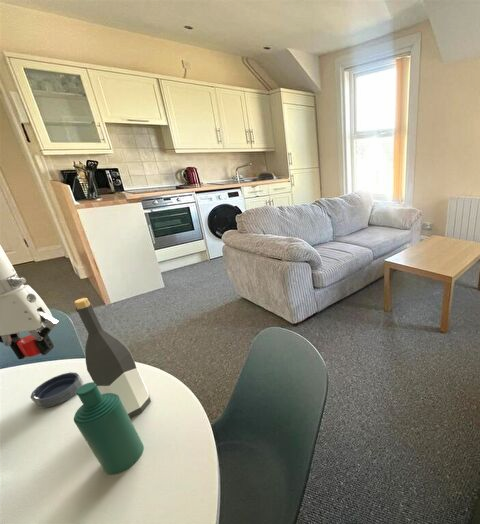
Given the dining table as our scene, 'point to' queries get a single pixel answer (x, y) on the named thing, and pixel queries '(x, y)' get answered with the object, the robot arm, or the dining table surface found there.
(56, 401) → the dish
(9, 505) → the dining table surface
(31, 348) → the cap
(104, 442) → the water bottle
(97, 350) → the wine bottle
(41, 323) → the robot arm
